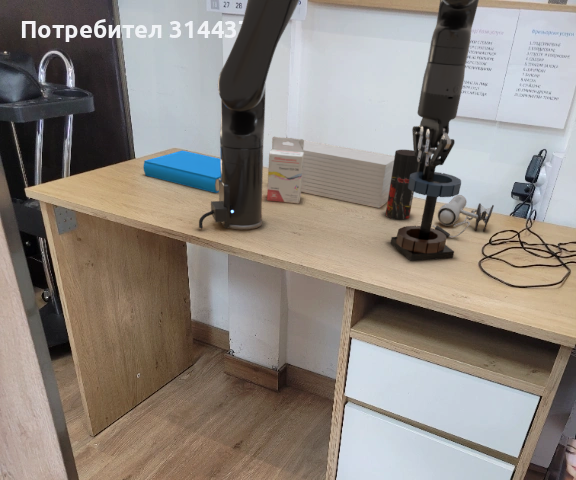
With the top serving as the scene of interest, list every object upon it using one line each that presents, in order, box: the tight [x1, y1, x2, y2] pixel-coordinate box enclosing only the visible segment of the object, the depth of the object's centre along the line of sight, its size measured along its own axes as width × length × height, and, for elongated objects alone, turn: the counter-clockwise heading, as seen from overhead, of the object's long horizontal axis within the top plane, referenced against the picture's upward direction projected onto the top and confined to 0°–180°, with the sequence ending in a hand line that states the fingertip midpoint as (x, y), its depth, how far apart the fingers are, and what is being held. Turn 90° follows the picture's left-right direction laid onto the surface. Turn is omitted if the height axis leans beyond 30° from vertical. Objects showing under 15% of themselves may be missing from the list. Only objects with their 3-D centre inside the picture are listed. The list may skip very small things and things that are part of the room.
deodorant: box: [385, 149, 419, 221], centre depth 134 cm, size 6×6×15 cm
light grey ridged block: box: [282, 139, 395, 209], centre depth 149 cm, size 32×11×11 cm, turn 63°
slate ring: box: [408, 171, 462, 198], centre depth 112 cm, size 10×10×2 cm
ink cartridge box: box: [266, 136, 305, 204], centre depth 140 cm, size 9×5×15 cm, turn 84°
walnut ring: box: [396, 225, 447, 253], centre depth 119 cm, size 10×10×2 cm
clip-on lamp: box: [432, 194, 495, 239], centre depth 131 cm, size 12×6×18 cm
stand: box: [390, 181, 455, 262], centre depth 116 cm, size 10×10×14 cm
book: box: [143, 149, 221, 194], centre depth 155 cm, size 17×4×25 cm
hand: (423, 182), depth 116 cm, fingers closed on slate ring, 2 cm apart
